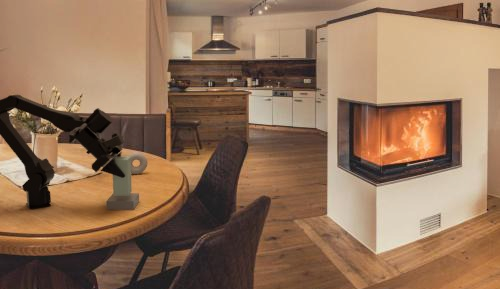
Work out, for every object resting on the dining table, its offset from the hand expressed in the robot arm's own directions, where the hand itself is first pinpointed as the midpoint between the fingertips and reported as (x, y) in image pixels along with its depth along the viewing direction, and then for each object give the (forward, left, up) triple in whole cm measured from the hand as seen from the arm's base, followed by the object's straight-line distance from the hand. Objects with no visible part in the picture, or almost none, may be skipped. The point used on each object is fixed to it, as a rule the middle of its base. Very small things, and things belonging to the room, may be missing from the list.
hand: (126, 174), depth 141 cm
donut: (+20, +39, -11) cm, 46 cm away
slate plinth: (-1, +1, -11) cm, 11 cm away
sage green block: (-1, +1, -7) cm, 7 cm away
